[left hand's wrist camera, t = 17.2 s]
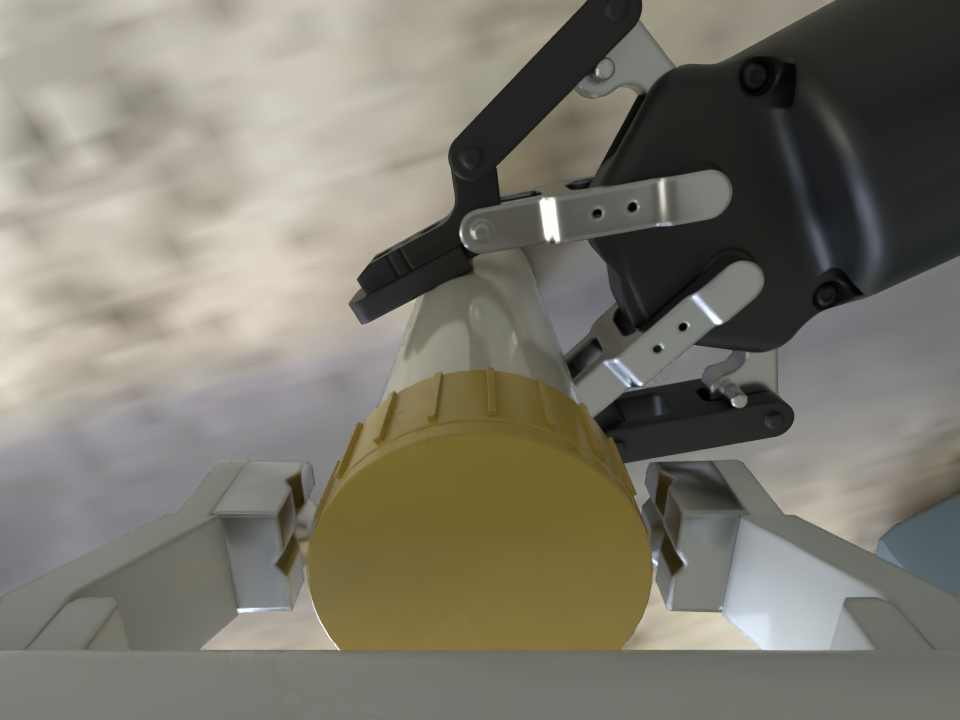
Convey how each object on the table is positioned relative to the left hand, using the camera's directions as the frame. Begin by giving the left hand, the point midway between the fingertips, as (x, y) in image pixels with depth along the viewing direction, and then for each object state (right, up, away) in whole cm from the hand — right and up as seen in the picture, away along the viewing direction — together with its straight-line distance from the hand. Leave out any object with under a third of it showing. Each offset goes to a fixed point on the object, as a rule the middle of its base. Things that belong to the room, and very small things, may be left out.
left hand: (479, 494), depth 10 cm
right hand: (-2, +2, +8) cm, 9 cm away
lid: (0, -1, -2) cm, 2 cm away
